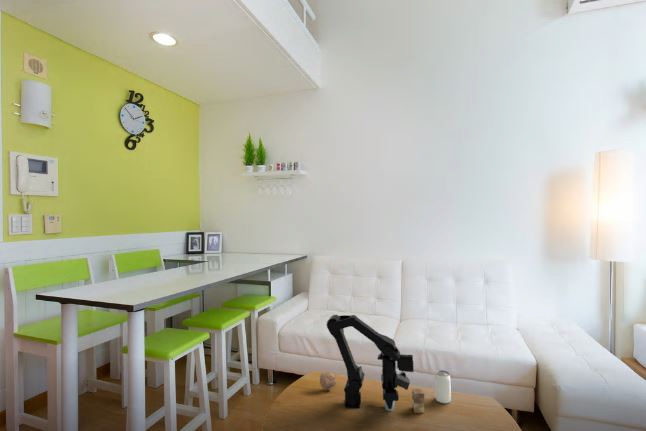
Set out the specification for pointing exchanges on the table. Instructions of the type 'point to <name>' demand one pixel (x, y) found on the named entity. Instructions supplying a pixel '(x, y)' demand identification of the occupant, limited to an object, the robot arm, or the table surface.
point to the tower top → (418, 395)
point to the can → (442, 387)
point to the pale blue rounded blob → (388, 408)
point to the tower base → (418, 407)
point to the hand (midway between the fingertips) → (389, 406)
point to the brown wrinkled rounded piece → (327, 380)
